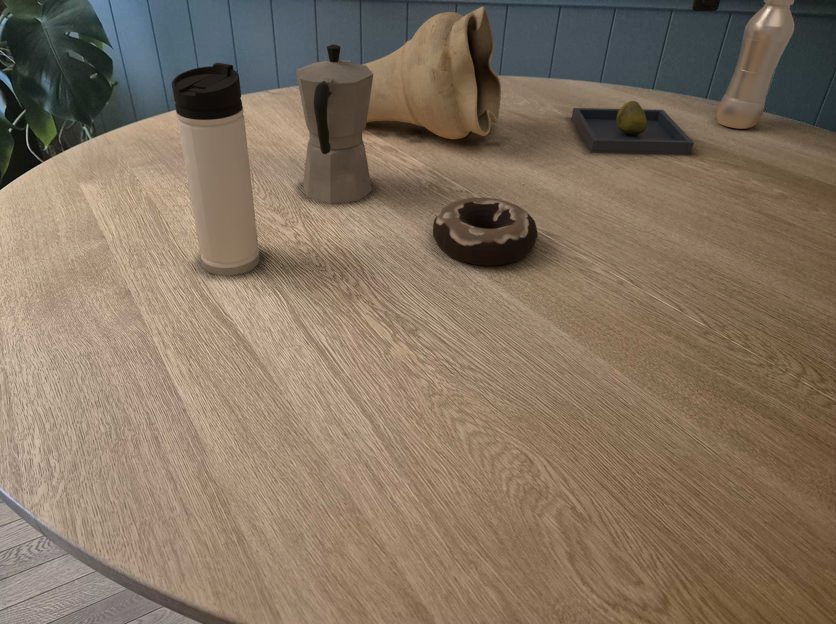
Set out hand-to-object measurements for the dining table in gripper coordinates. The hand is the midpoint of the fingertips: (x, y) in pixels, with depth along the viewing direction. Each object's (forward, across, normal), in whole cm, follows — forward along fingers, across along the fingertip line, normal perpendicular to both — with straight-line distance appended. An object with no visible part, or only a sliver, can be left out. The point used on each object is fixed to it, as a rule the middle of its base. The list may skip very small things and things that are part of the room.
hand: (691, 3), depth 91 cm
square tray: (+19, +1, +4) cm, 20 cm away
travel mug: (+18, -40, +58) cm, 73 cm away
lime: (+19, +1, +4) cm, 19 cm away
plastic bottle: (+20, +7, -15) cm, 26 cm away
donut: (+19, -35, +30) cm, 50 cm away
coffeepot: (+19, -22, +48) cm, 56 cm away
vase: (+19, +2, +38) cm, 43 cm away
